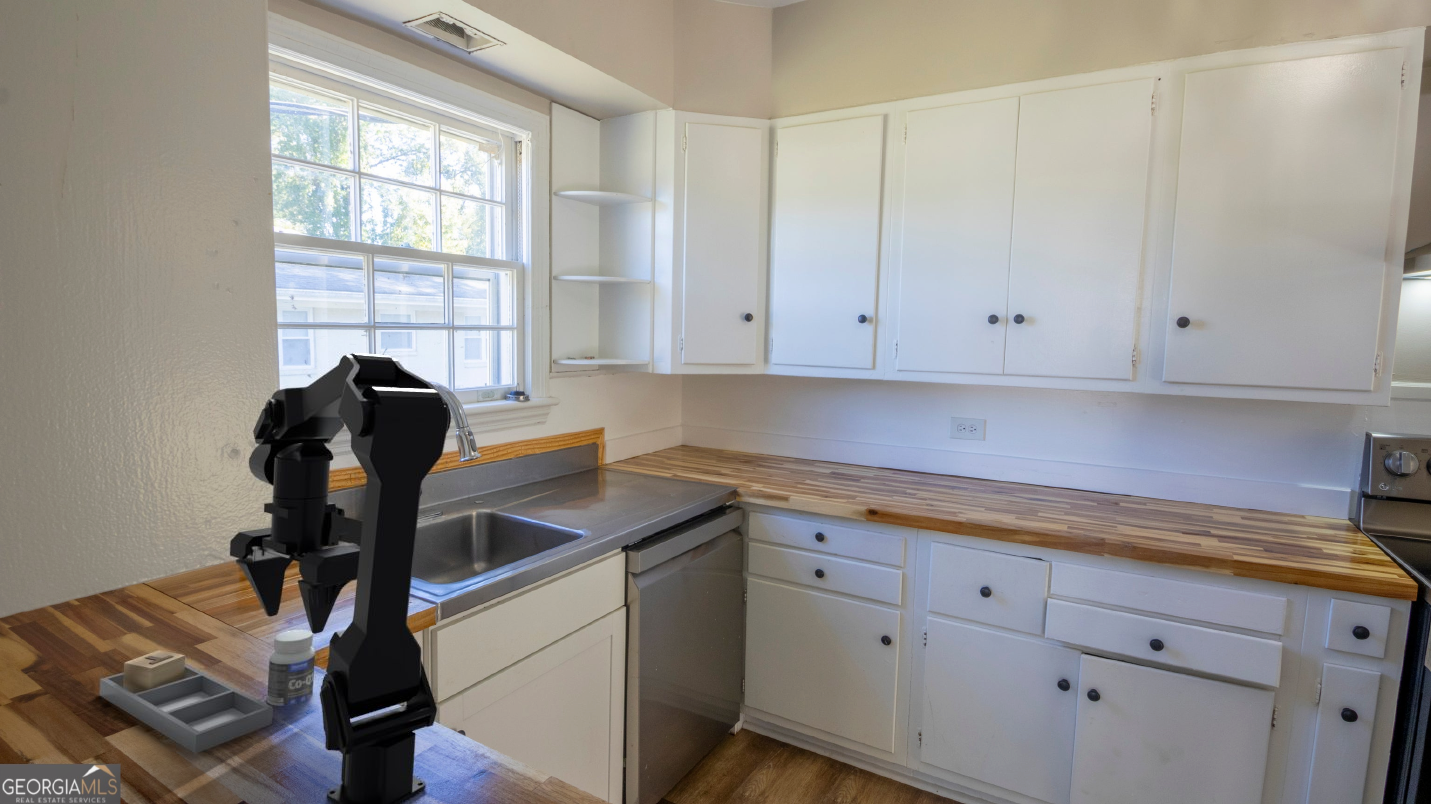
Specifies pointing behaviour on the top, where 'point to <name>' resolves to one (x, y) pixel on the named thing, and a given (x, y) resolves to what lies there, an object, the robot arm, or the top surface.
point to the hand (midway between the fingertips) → (294, 624)
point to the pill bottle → (291, 668)
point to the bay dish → (191, 709)
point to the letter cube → (153, 671)
